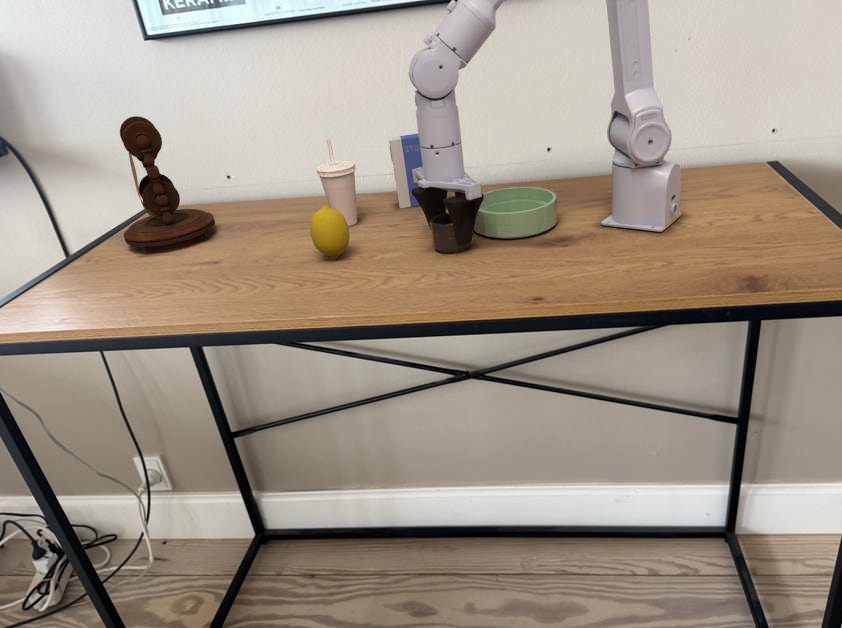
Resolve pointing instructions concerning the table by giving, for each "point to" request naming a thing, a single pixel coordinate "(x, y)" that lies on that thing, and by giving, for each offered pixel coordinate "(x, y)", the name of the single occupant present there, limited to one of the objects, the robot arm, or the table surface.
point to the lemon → (329, 231)
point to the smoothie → (340, 186)
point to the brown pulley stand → (158, 194)
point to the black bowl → (444, 234)
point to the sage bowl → (516, 212)
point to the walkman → (405, 166)
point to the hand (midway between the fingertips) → (451, 238)
